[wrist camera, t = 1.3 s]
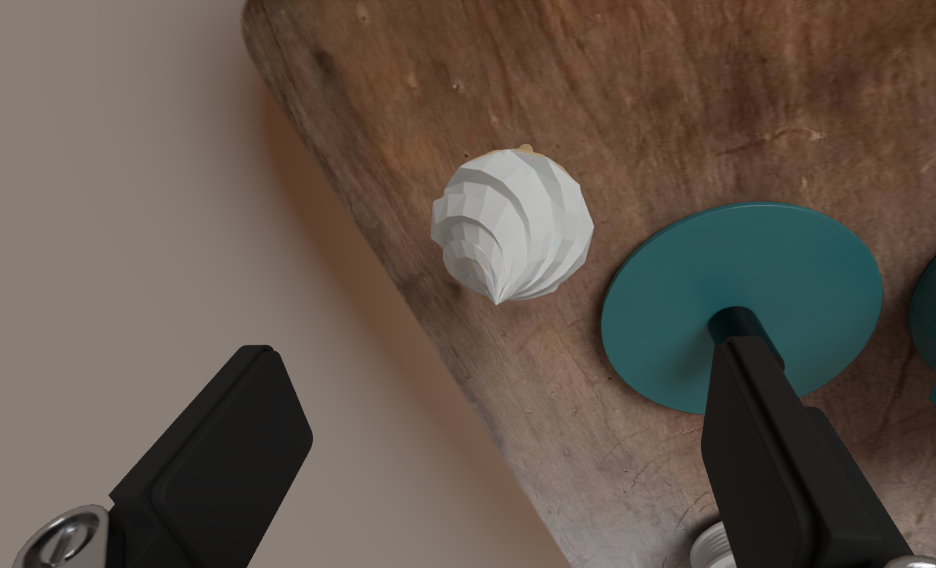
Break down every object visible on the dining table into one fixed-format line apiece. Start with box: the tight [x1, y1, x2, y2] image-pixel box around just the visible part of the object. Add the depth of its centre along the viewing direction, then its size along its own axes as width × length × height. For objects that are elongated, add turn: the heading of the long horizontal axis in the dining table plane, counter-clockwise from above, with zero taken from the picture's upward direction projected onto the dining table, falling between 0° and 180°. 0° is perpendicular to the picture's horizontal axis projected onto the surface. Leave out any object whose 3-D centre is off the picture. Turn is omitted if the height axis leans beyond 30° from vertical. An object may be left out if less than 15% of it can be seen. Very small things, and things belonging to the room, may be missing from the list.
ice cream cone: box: [431, 144, 594, 305], centre depth 19 cm, size 6×6×15 cm
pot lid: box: [600, 202, 883, 415], centre depth 27 cm, size 15×15×5 cm
